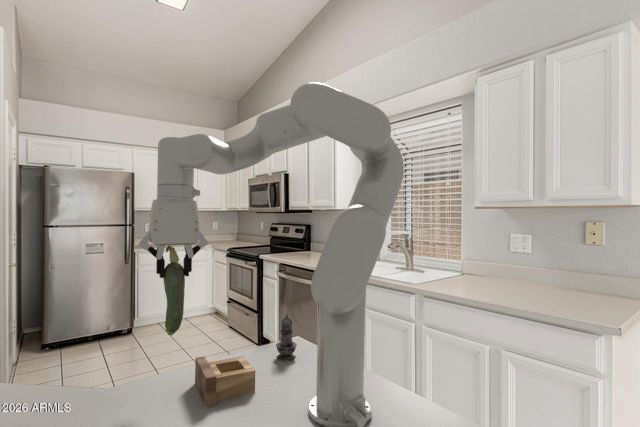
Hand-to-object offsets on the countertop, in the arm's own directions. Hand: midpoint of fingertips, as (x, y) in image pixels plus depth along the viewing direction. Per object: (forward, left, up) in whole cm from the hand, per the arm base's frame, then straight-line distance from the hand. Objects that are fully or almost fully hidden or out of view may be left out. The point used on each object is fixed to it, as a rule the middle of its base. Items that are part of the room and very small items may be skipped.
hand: (174, 275), depth 79 cm
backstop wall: (-4, -6, -26) cm, 27 cm away
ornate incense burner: (+7, -31, -26) cm, 41 cm away
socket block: (-4, -12, -26) cm, 29 cm away
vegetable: (0, 0, -14) cm, 14 cm away
